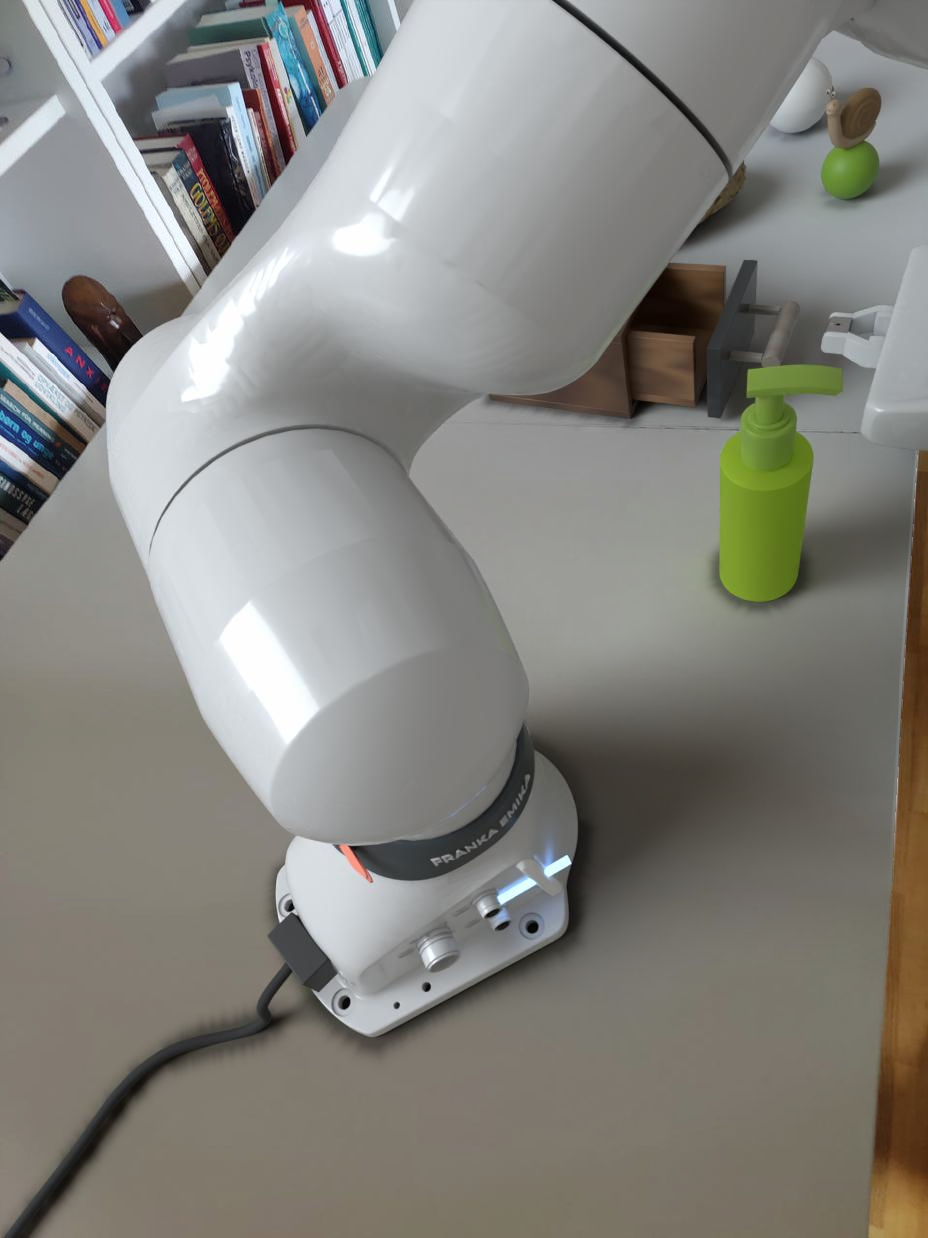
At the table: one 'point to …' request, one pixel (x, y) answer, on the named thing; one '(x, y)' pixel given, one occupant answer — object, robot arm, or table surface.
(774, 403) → the soap dispenser
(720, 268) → the drawer
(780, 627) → the table surface
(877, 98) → the snail figurine
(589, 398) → the cabinet
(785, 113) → the white egg
